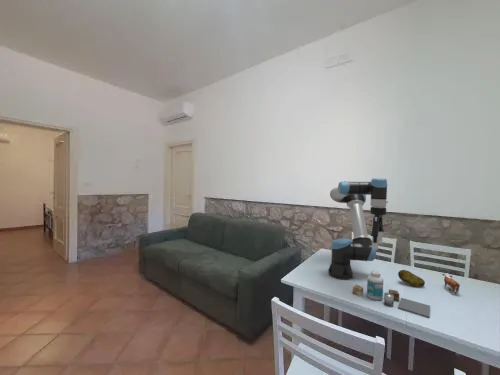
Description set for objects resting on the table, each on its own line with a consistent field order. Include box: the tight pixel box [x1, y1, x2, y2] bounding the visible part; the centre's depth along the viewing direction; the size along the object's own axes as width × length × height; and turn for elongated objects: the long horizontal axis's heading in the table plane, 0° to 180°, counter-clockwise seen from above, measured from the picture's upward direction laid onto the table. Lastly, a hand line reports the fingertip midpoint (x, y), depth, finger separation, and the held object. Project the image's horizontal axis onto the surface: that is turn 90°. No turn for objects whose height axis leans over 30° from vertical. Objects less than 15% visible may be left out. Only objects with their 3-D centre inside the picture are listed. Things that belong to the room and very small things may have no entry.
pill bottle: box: [366, 270, 384, 301], centre depth 123 cm, size 8×7×14 cm
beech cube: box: [351, 284, 364, 297], centre depth 127 cm, size 4×4×4 cm
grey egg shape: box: [383, 292, 395, 308], centre depth 116 cm, size 4×4×5 cm
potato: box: [397, 269, 426, 288], centre depth 138 cm, size 8×13×8 cm, turn 44°
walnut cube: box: [388, 289, 400, 302], centre depth 121 cm, size 4×4×4 cm
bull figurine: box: [441, 272, 460, 295], centre depth 132 cm, size 4×13×8 cm, turn 161°
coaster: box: [397, 297, 431, 319], centre depth 113 cm, size 12×12×1 cm
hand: (377, 245), depth 126 cm, fingers open, 13 cm apart
